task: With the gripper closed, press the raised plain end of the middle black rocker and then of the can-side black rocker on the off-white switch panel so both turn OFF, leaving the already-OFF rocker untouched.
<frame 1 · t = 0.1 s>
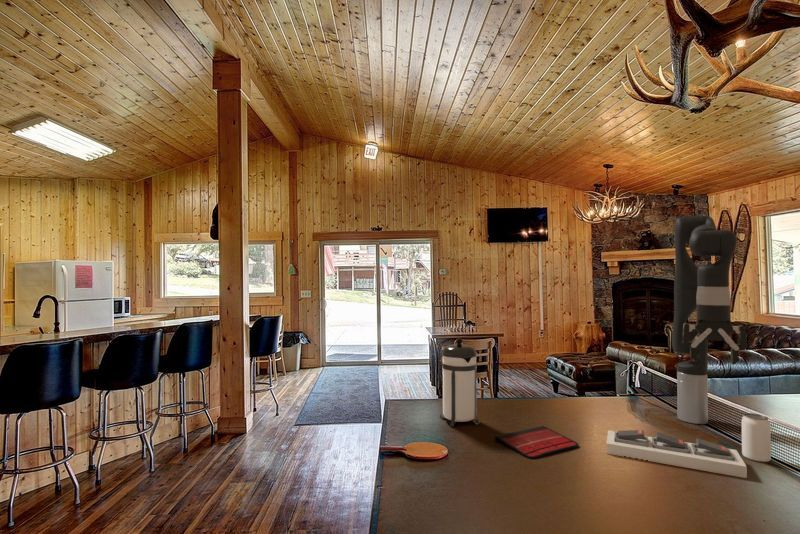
hand: (713, 362, 117), 29 cm above the table, tool pointing down, fingers open, 8 cm apart
switch panel: (670, 456, 125), on the table
binder: (537, 446, 135), on the table
coffee press: (457, 420, 157), on the table
rocker 1: (631, 434, 130), point 5 cm above the table, hinge at 12.0°
rocker 3: (712, 446, 121), point 5 cm above the table, hinge at -12.0°
rocker 2: (670, 440, 125), point 5 cm above the table, hinge at -12.0°
can: (756, 458, 125), on the table
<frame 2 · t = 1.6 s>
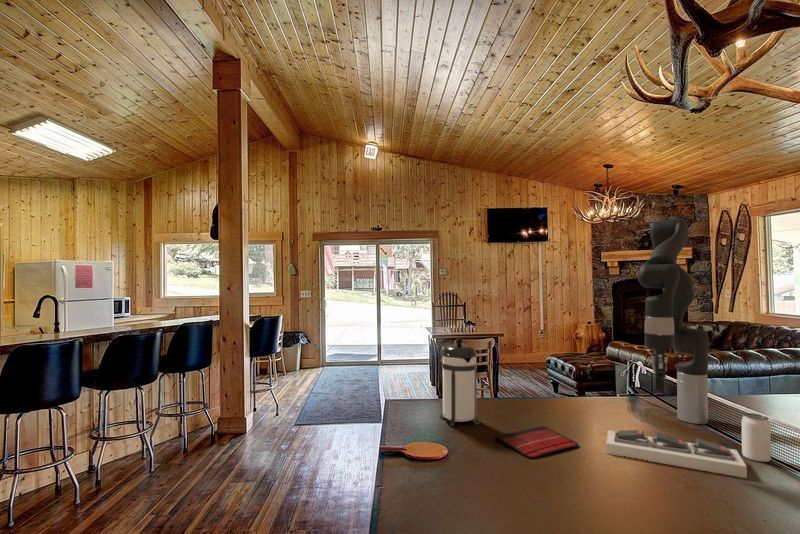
hand: (659, 390, 127), 19 cm above the table, tool pointing down, fingers closed
nothing on the table moved.
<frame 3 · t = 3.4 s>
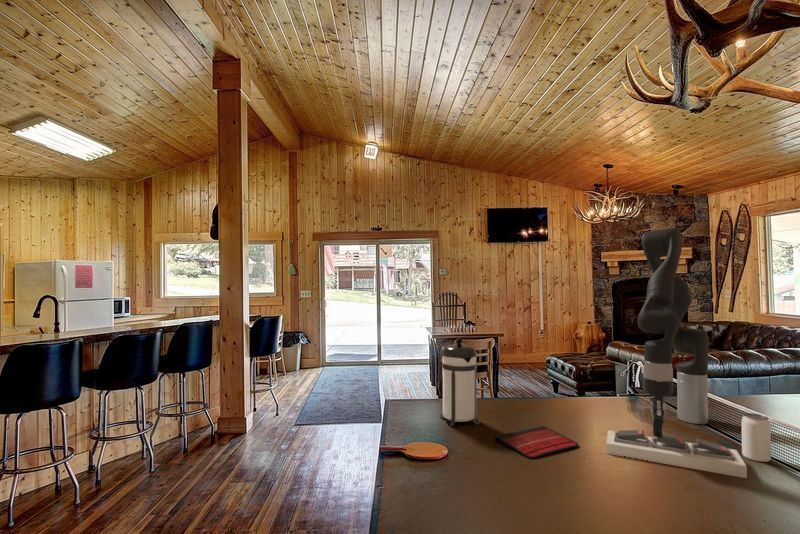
hand: (657, 435, 127), 6 cm above the table, tool pointing down, fingers closed
rocker 2: (670, 440, 125), point 5 cm above the table, hinge at -8.6°, touching gripper
everything else where it was.
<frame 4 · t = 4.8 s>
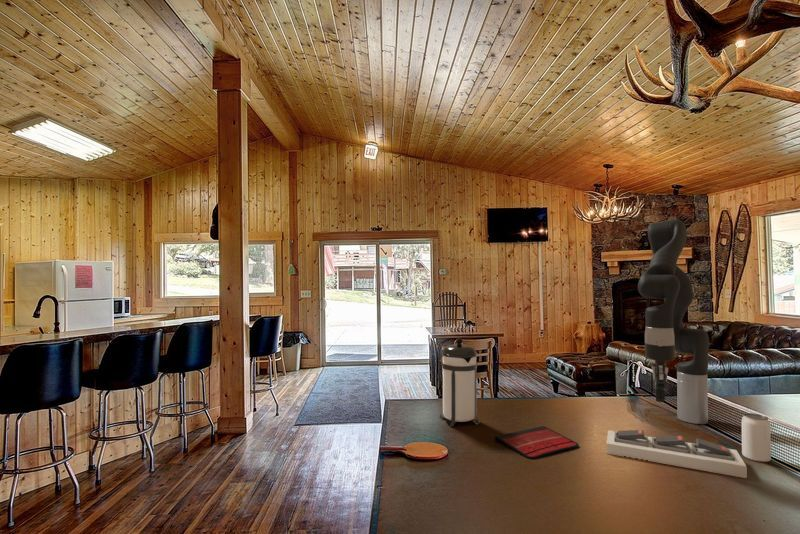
hand: (660, 401, 127), 16 cm above the table, tool pointing down, fingers closed
rocker 2: (670, 440, 125), point 5 cm above the table, hinge at 11.3°
everything else where it was.
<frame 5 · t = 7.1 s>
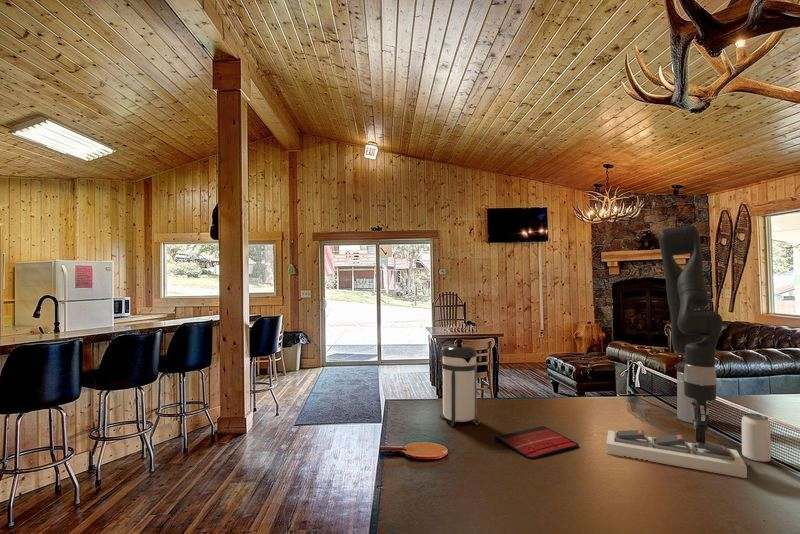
hand: (700, 442, 122), 6 cm above the table, tool pointing down, fingers closed
rocker 3: (712, 446, 121), point 5 cm above the table, hinge at -11.7°, touching gripper
rocker 2: (670, 440, 125), point 5 cm above the table, hinge at 18.4°
everything else where it was.
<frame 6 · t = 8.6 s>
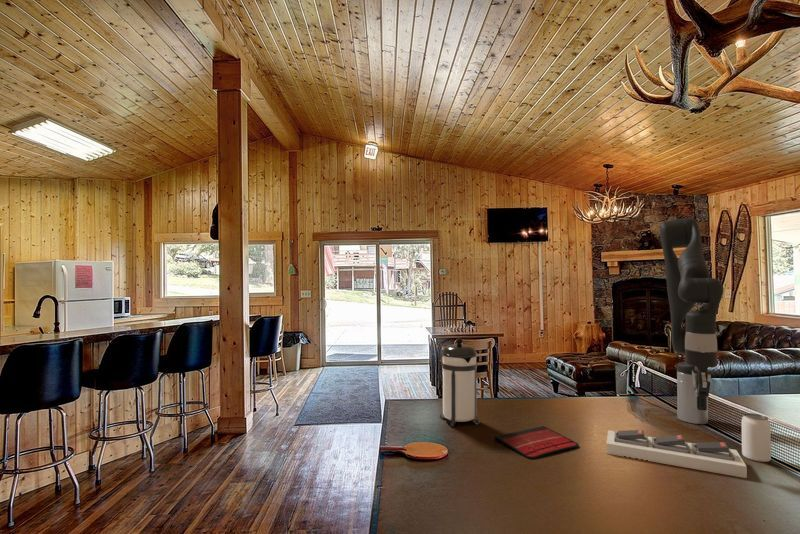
hand: (701, 409, 122), 15 cm above the table, tool pointing down, fingers closed
rocker 3: (712, 446, 121), point 5 cm above the table, hinge at 11.4°
rocker 2: (670, 440, 125), point 5 cm above the table, hinge at 16.8°
everything else where it was.
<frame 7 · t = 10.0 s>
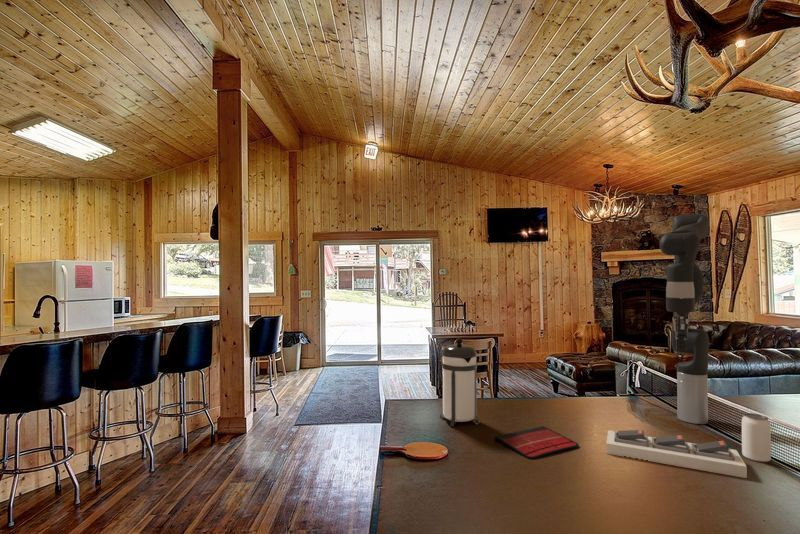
hand: (680, 351, 135), 29 cm above the table, tool pointing down, fingers closed
rocker 3: (711, 446, 121), point 5 cm above the table, hinge at 19.8°, touching switch panel
rocker 2: (670, 440, 125), point 5 cm above the table, hinge at 16.1°
everything else where it was.
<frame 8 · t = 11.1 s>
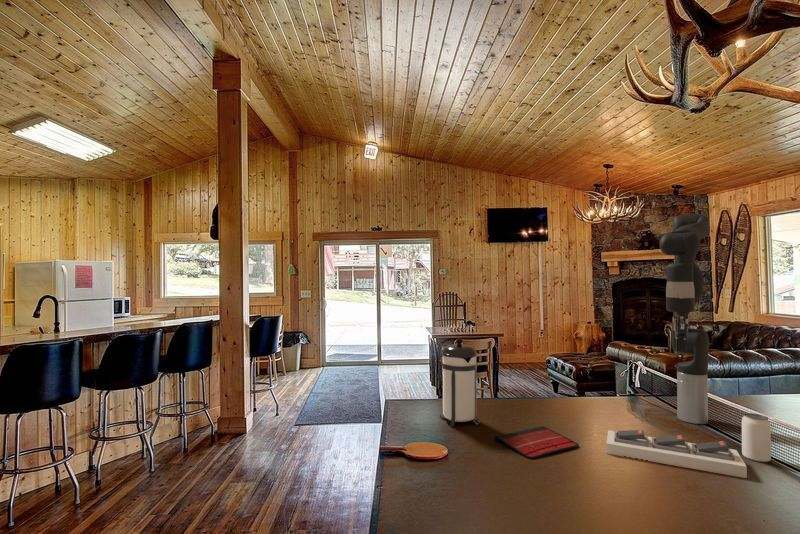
hand: (680, 351, 135), 29 cm above the table, tool pointing down, fingers closed
rocker 3: (712, 446, 121), point 5 cm above the table, hinge at 17.5°
everything else where it was.
at the end: rocker 2 at +16° (first picture: -12°); rocker 3 at +18° (first picture: -12°); rocker 1 at +12° (first picture: +12°) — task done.
